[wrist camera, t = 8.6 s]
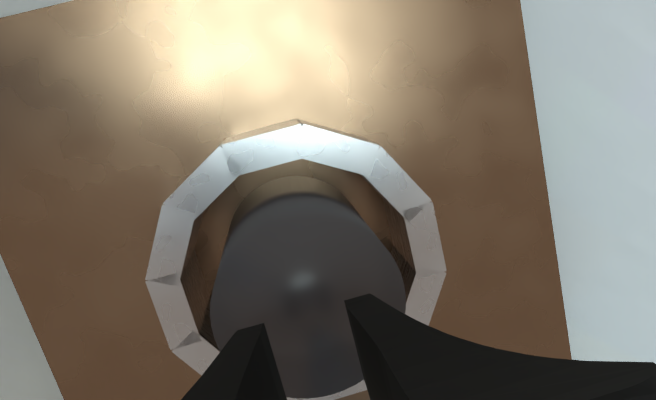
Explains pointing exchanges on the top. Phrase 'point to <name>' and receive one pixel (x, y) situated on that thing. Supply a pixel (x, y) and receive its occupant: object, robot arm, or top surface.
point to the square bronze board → (264, 169)
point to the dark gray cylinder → (302, 281)
